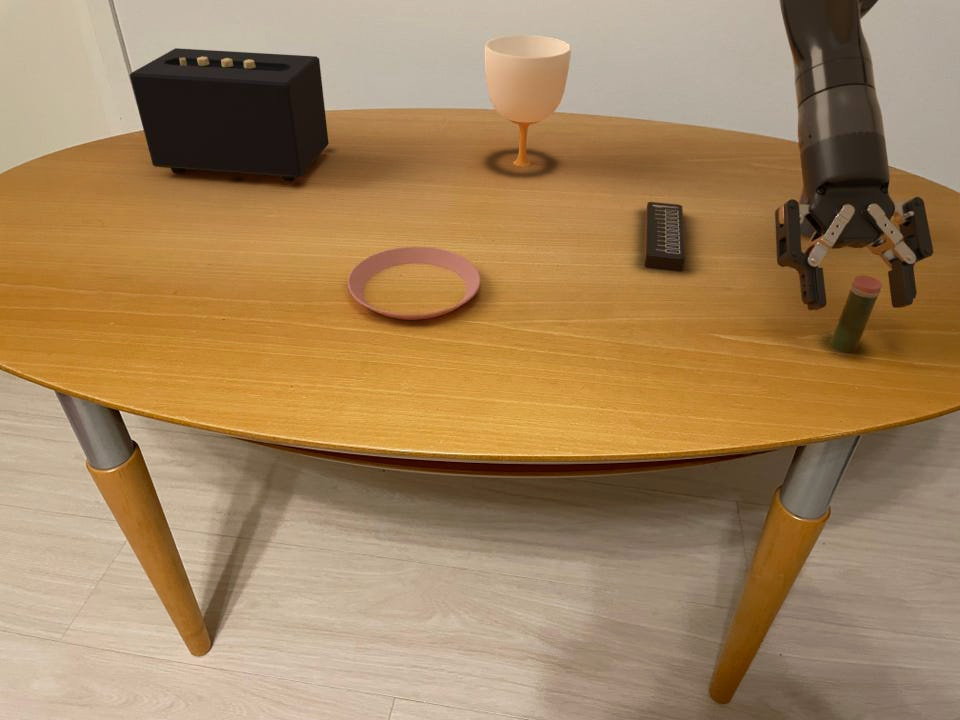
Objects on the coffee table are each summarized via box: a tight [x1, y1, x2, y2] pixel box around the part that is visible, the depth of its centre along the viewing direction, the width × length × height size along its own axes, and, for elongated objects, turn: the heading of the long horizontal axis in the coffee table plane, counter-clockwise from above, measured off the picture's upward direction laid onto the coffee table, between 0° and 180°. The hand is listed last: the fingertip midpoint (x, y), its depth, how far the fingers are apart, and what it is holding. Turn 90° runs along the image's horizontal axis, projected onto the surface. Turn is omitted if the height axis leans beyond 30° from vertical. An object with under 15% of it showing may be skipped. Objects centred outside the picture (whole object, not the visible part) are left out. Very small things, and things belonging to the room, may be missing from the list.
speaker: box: [129, 47, 330, 183], centre depth 104 cm, size 22×13×15 cm, turn 82°
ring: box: [347, 246, 482, 321], centre depth 81 cm, size 14×14×2 cm
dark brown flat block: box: [643, 201, 686, 272], centre depth 90 cm, size 4×14×2 cm, turn 169°
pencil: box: [830, 275, 883, 354], centre depth 72 cm, size 2×2×8 cm
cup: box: [484, 34, 572, 168], centre depth 105 cm, size 12×12×17 cm
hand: (860, 307), depth 70 cm, fingers open, 8 cm apart
